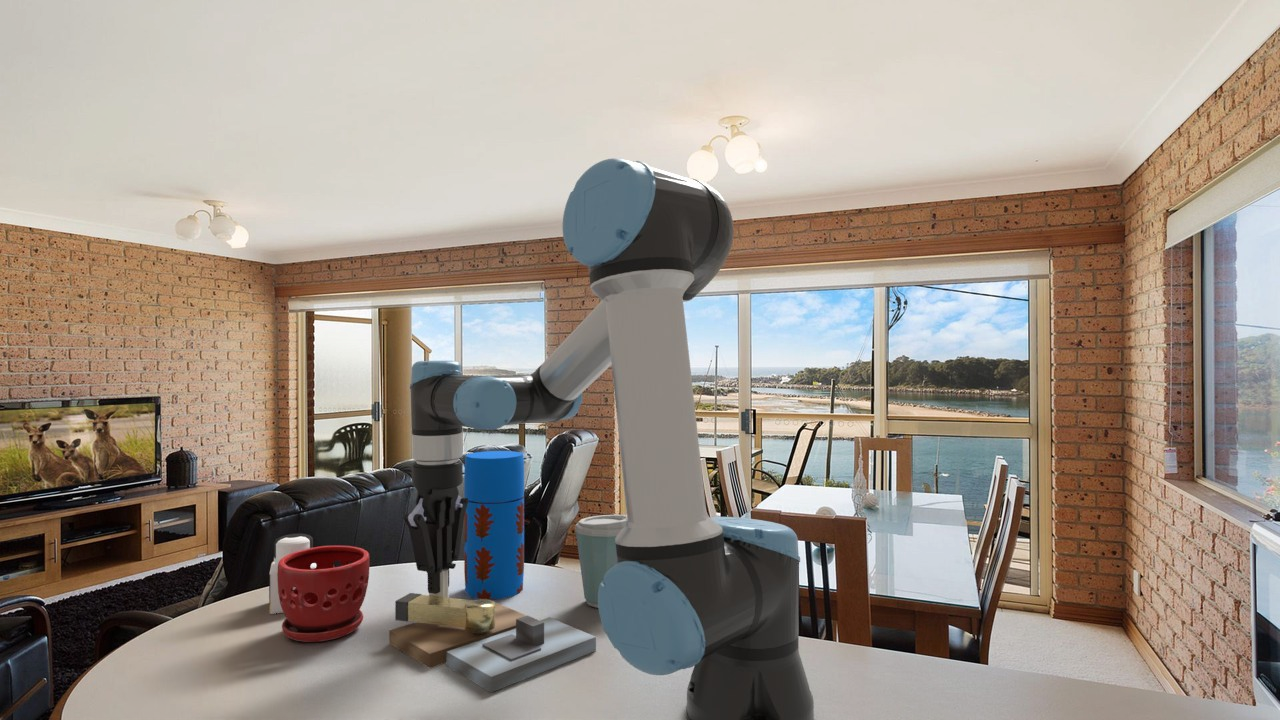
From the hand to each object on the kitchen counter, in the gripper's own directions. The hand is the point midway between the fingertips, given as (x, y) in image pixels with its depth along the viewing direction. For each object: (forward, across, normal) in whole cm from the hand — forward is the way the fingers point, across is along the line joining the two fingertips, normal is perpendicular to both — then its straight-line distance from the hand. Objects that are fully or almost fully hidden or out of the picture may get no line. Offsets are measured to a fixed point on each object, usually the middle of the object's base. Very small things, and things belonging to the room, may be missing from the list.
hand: (438, 611), depth 108 cm
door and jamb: (+3, +1, +10) cm, 11 cm away
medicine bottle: (+4, -1, -31) cm, 32 cm away
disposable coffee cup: (+4, -22, +18) cm, 29 cm away
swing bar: (+1, +2, +3) cm, 4 cm away
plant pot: (+4, +6, -17) cm, 18 cm away
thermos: (+4, -21, -4) cm, 21 cm away
